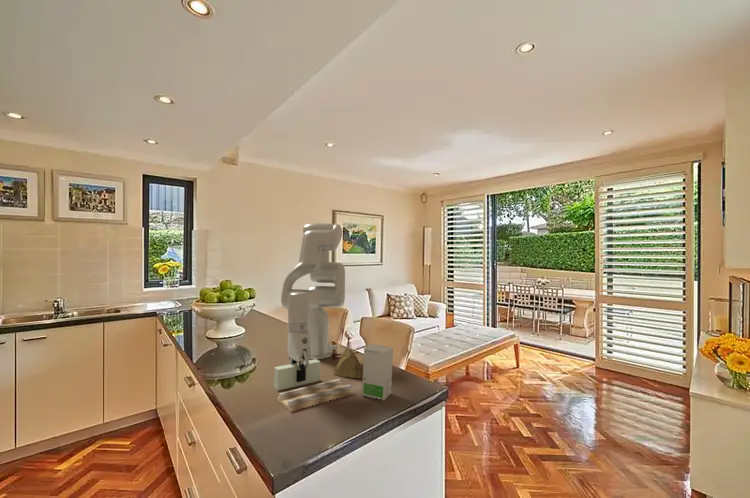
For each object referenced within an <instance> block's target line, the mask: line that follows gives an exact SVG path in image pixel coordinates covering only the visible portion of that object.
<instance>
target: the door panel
mask: <svg viewBox="0 0 750 498" xmlns="http://www.w3.org/2000/svg"><path fill="white" fill-rule="evenodd" d="M301 364H303V362H302V363H300V366H301ZM297 370H298V365H297V363H294V364H284V365H279V366H275V367H273V388H274V389H275V390H276V391H282V390H286V389H290V388H295V387H298V386H304V385H308V384H310V383H316V382H319V381H321V361H320V360H319V359H310V360H309V364H308V365H307V369H306V380H305V381H301V382H297Z"/></svg>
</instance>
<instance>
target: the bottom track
mask: <svg viewBox="0 0 750 498" xmlns="http://www.w3.org/2000/svg"><path fill="white" fill-rule="evenodd" d="M352 387H353V385H352V384H350V383H349V384H345V385H344V384H343V383H342V378H337V379H332V380H329V381H328V380H327V381H325V382H319V383H315V384H312V385H307V386H304V387H303V386H302V387H299V388H296V389H291V390H287V391H283V392H279V394H278V396H276V397H277V402H279V403H280V404H281V405H282V406H283V407H284V408H285V409H287V410H288V412H290V413H292V412H296V411H299V410H303V409H305V408H309V406H310V407H313V406H316V404H317V405H320V404H323V402H324V403H327V402H330V401H329V400H331V401H333V399H334V400H337V399H336V398H338V399H340V397H341V398H344V396H345V397H347V395H348V396H351V394H352V395H354V390H353V389H352ZM326 401H327V402H326ZM319 403H320V404H319ZM312 405H313V406H312ZM302 408H303V409H302Z"/></svg>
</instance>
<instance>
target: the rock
mask: <svg viewBox="0 0 750 498" xmlns="http://www.w3.org/2000/svg"><path fill="white" fill-rule="evenodd" d="M333 375H334V376H335V375H336V376H338V377H343V378H353V379H363V368H362V366H361V363H360V361H359V359H358V357H357V356H356V353H354V351H353V350H352V349H351V348H348V347H346V348H345V349H344V351H343V352H342V354H341V356H340V358H339V360H338V362H337V364H336V366H335V369H334V372H333Z"/></svg>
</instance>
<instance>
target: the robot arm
mask: <svg viewBox="0 0 750 498" xmlns="http://www.w3.org/2000/svg"><path fill="white" fill-rule="evenodd" d="M342 229H343V228H342V227H341V225H340V224H339V223H323V222H322V223H320V222H319V223H318V222H317V223H315V222H313V223H307V224H304V226H303V228H302V233H303V235H302V239H301V246H300V251H299V258H298V264H296V265H295V266H294V267H293V268H292V269H291V270H290V271H289V272H288V274H287V275H286V277H285V279H284V281H283V285H282V291H281V296H280V298H281V299H280V301H281V302H280V303H281V306H282V308H284V309H285V310H287V332H288V334H287V351H286V352H287V356H288V359H289V364H294V363H297V365H298V370H297V382H301V381H305V380H306V369H307V365H308V364H309V360H314V359H316V360H325V359H328V358H330V357H332V353H333V352H331V351H332V350H337V349H338V344H333V345H332V344H329V328H330V327H329V323H330V319H329V318H330V317H329V313H328V312H327V311H326V309H325V308H340V307H342V306H343V305H344V304H345V300H346V299H345V298H346V269H345V266H344V265H343V263H342V262H337V261H336V262H335V261H333V262H332V261H330V251H333V252H334V251H335V250H337V249H338V247H339V244H340V242H341V240H342V238H343V230H342ZM306 275H309V277H310V280H311V282H313V283H319V284H333V286H332V285H313V286H310V287H308V288H307V289H300V288H297V289H293V287H294V284H295V283H296V282H297V281H299V279H300V278H303V277H304V276H306ZM302 362H303V364H301V366H300V363H302Z"/></svg>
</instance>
